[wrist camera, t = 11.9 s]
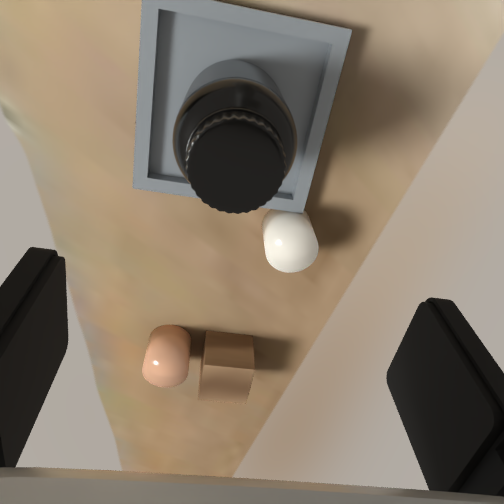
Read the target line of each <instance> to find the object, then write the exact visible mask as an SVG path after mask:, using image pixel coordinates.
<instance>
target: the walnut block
mask: <svg viewBox="0 0 504 504" xmlns="http://www.w3.org/2000/svg"><path fill="white" fill-rule="evenodd" d="M254 372H255V361H254V347H253V336H251V335H242V334H233V333H224V332H214V331H206V336H205V341H204V347H203V353H202V359H201V364H200V378H199V392H198V400H205V401H216V402H228V403H239V404H246V403H247V399H248V395H249V391H250V388H251V384H252V380H253V376H254Z"/></svg>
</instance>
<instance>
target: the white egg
mask: <svg viewBox="0 0 504 504" xmlns="http://www.w3.org/2000/svg"><path fill="white" fill-rule="evenodd" d="M262 230H263V238H264V245H265V252H266V257H267V260H268V262H269V263H270V264H271V265H272V266H273V267H274V268H276V269H277V270H280V271H283V272H298V271H301V270H303V269H305V268H307V267H308V266H310V265H311V264H312V263H313V262H314V260H315V259H316V257H317V254H318V249H319V246H318V241H317V239H316V236H315V233H314V230H313V227H312V224H311V221H310V218H309V216H308V214H307V212H306V211H305V210H304V211H303V214H302V213H296V212H289V211H282V210H275V209H271V210H270V211H268V213H267V214H266V215H265V217H264V219H263V222H262Z"/></svg>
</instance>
